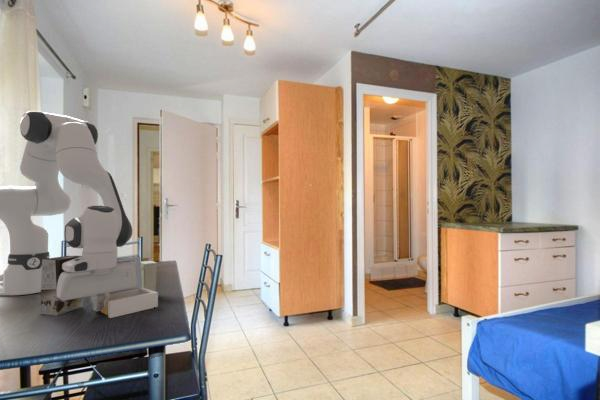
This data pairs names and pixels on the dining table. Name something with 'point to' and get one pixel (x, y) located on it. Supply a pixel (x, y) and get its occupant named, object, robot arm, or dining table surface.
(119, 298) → the tan cardboard brick
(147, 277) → the skincare box
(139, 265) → the lid
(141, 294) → the open tray
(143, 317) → the dining table surface
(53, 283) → the coffee box
